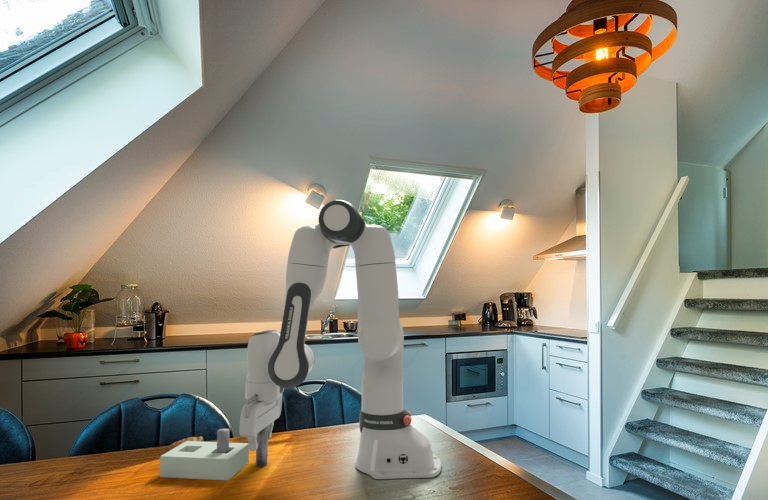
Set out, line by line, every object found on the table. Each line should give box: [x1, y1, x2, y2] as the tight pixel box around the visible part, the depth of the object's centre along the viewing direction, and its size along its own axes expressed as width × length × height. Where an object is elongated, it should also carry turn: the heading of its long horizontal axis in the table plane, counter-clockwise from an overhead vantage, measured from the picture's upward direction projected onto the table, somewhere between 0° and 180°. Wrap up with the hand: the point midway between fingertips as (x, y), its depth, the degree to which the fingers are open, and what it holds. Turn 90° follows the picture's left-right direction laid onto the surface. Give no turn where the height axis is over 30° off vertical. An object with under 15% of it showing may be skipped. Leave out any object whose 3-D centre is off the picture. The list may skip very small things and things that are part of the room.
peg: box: [255, 426, 269, 468], centre depth 123 cm, size 3×3×10 cm
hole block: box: [159, 428, 250, 481], centre depth 120 cm, size 18×12×10 cm, turn 83°
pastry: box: [167, 436, 204, 451], centre depth 135 cm, size 9×7×4 cm
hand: (260, 444), depth 123 cm, fingers open, 8 cm apart
